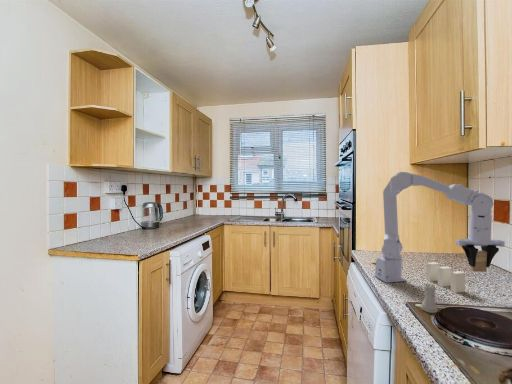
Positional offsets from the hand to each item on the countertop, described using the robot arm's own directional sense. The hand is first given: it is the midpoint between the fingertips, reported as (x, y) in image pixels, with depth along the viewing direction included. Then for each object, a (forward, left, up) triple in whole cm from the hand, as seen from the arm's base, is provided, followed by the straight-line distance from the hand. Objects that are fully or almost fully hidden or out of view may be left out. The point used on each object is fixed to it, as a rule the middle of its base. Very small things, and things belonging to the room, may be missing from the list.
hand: (479, 266), depth 95 cm
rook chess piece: (-26, -5, -11) cm, 28 cm away
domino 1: (-4, +16, -10) cm, 19 cm away
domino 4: (0, 0, -2) cm, 2 cm away
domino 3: (-4, +5, -10) cm, 12 cm away
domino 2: (-4, +10, -10) cm, 15 cm away
